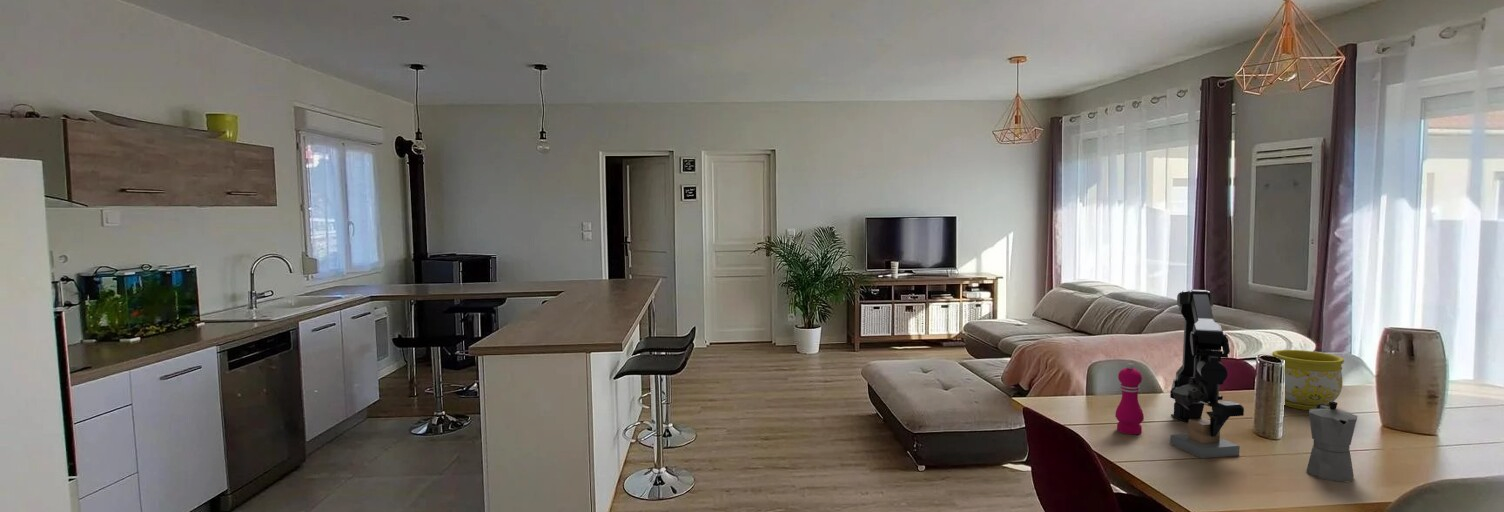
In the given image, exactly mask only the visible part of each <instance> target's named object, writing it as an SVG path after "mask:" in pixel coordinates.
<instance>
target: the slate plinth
mask: <svg viewBox="0 0 1504 512" xmlns="http://www.w3.org/2000/svg"><path fill="white" fill-rule="evenodd" d="M1169 439H1170V440H1169V444H1170V445H1172V446H1175V447H1176V448H1179V449H1181V450H1183V451H1184V452H1188V453H1190V454H1191V455H1194V456H1197V457H1199V458H1201V459H1205V458H1206V459H1207V458H1219V457H1221V458H1222V457H1230V456H1231V457H1232V456H1233V457H1234V456H1240V451H1241V450H1240V448H1241V447H1240V445H1239V444H1236V443H1233V442H1232V441H1229V440H1226V439H1223V438H1221V437H1220V442H1218V443H1205V444H1203V443H1200V442H1198V441H1195V440H1193V439H1190V438H1188V433H1176V434H1170V435H1169Z"/></svg>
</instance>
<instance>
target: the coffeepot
mask: <svg viewBox="0 0 1504 512" xmlns="http://www.w3.org/2000/svg"><path fill="white" fill-rule="evenodd" d="M1329 404H1330V409H1329V407H1328V406H1325V405H1324V404H1318V405H1317V407H1316V409H1310V411H1309V410H1308V416H1309V417H1308V418H1309V422H1310V423H1309V425H1310V431H1311V439H1312V440H1313V445H1312V448H1311V450H1310V451H1311V452H1310V455H1309V460H1308V463H1307V467H1306V471H1305V472H1306V473H1308V474H1309V475H1311V476H1313V477H1315V478H1318V479H1321V480H1324V481H1325V480H1326V481H1330V482H1337V483H1339V482H1340V483H1346V482H1345V481H1350V482H1353V480H1354V477H1355V473H1354V469H1353V461H1352V458H1351V457H1352V455H1351V451H1350V446H1351V443H1352V440H1353V436H1354V432H1355V428H1356V423H1357V421H1358V420H1357V419H1358V415H1357V414H1353V413H1349V412H1346V411H1344V410H1341V409H1337V407H1338V402H1336V401H1332V402H1329Z"/></svg>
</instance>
